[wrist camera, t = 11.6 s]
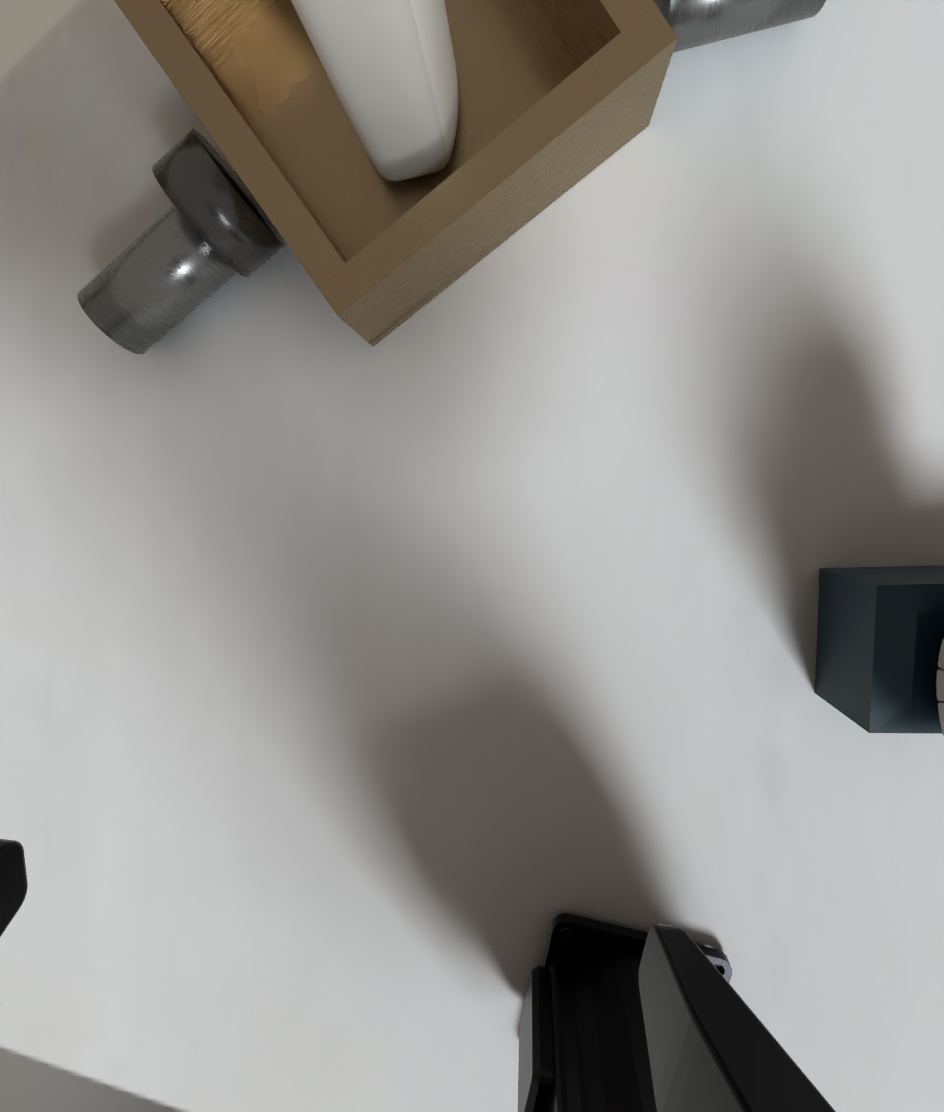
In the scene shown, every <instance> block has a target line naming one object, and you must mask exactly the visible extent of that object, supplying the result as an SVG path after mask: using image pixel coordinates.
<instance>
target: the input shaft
mask: <svg viewBox="0 0 944 1112" xmlns="http://www.w3.org/2000/svg"><path fill="white" fill-rule="evenodd" d="M152 170H153V173H154V175H155V177H156V179H157V181H158V183H159V184H160V186H161V187H162V189H163V190H164V192H165V193H166V195H167V196H168V197H169V199H170V200H171V201H172V203H173V204H174V206H173V207H171V208H170V209H169V210H168V211H167V212H166V213H165V214H164V215H163V216H162V217H161V218H159V219H158V220H157V221H156V222H155V223H154V224H153V225H152V226H151V227H150V228H149V229H147V230H146V231H145V232H144V233H143V234H142V235H141V236H140V237H139V238H138V239H137V240H135V241H134V242H133V243H132V244H131V245H130V246H129V247H128V248H127V249H126V250H125V251H123V252H122V253H121V254H120V255H119V256H118V257H117V258H116V259H115V260H114V261H112V262H111V263H110V264H109V265H108V266H107V267H106V268H105V269H104V270H103V271H102V272H100V273H99V274H98V275H97V276H96V277H95V278H94V279H93V280H92V281H91V282H90V283H88V284H87V285H86V286H85V287H84V288H83V289H82V290H81V291H80V292H79V293H78V301H79V303H80V305H81V307H82V309H83V310H84V311H85V313H86V314H87V315H88V317H89V318H90V319H91V320H92V321H93V323H94V324H95V325H96V326H97V327H98V328H99V329H100V330H101V331H103V332H104V333H105V334H106V335H107V336H108V337H109V338H111V339H112V340H113V341H115V342H116V343H117V344H119V345H120V346H122V347H123V348H125V349H127V350H129V351H131V352H133V353H136V354H144V353H145V352H146V351H148V350H149V349H150V348H151V347H152V346H153V345H155V344H156V343H157V342H158V341H159V340H160V339H161V338H163V337H164V336H165V335H166V334H167V333H168V332H169V331H171V330H172V329H173V328H174V327H175V326H176V325H178V324H179V323H180V322H181V321H182V320H183V319H184V318H186V317H187V316H188V315H189V314H190V313H191V312H192V311H194V310H195V309H196V308H197V307H198V306H199V305H201V304H202V303H203V302H204V301H205V300H206V299H207V298H209V297H210V296H211V295H212V294H213V293H214V292H215V291H217V290H218V289H219V288H220V287H221V286H222V285H223V284H225V283H226V282H227V281H228V280H229V279H230V278H232V277H233V276H234V275H235V274H236V273H237V272H238V273H239V274H241V275H242V276H244V277H249V276H250V275H251V274H252V273H253V272H255V271H256V270H257V269H258V268H259V267H260V266H262V265H263V264H264V263H265V262H266V261H267V260H268V259H270V258H271V257H272V256H273V255H274V254H275V253H277V252H278V251H279V250H280V249H281V248H282V247H284V246H285V242H284V240H283V238H282V237H281V235H280V233H279V232H278V230H277V229H276V228H275V226H274V225H273V223H272V222H271V221H270V219H269V218H268V216H267V215H266V213H265V212H264V211H263V209H262V208H261V206H260V205H259V204H258V202H257V201H256V199H255V198H254V197H253V195H252V194H251V193H250V192H249V190H248V189H247V188H246V186H245V185H244V184H243V183H242V181H241V180H240V179H239V178H238V176H237V175H236V174H235V173H234V171H233V170H232V169H231V168H230V167H229V165H228V164H227V163H226V162H225V161H224V159H223V158H222V157H221V156H220V155H219V154H218V152H217V151H216V150H215V149H214V148H213V147H212V146H211V145H210V144H209V142H208V141H207V140H206V139H205V138H204V137H203V136H202V135H201V134H200V133H199V132H197V131H196V130H195V129H192V130H191V131H190V132H189V133H188V134H187V135H186V136H185V137H184V138H183V139H182V140H181V141H180V142H178V143H177V144H176V145H175V146H174V147H173V148H172V149H171V150H170V151H169V152H168V153H167V154H166V155H165V156H164V157H162V158H161V159H160V160H159V161H158V162H157V163H156V164H155V165H154V166H153V167H152Z"/></svg>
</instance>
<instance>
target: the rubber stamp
mask: <svg viewBox="0 0 944 1112" xmlns="http://www.w3.org/2000/svg"><path fill="white" fill-rule="evenodd" d="M815 693H816V694H817V695H818V696H820V697H821V698H822V699H824V700H825V701H827V702H828V703H829V704H831V705H832V706H833V707H835V708H836V709H837V710H839V711H840V712H842V713H843V714H844V715H846V716H847V717H848V718H850V719H851V720H852V721H854V722H855V723H857V724H858V725H859V726H861V727H862V728H863V729H865V730H866V731H867V732H869V733H943V735H944V566H905V567H858V568H820V577H819V603H818V628H817V654H816V679H815Z"/></svg>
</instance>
